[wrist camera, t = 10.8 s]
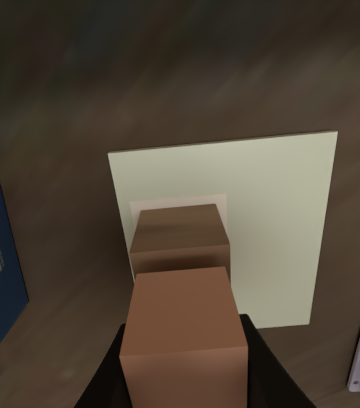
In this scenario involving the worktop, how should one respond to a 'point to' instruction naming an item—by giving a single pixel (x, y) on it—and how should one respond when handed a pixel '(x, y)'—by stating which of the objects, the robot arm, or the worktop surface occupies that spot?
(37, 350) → the worktop surface
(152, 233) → the walnut cube
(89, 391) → the robot arm
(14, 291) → the protein box
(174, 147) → the baseplate
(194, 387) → the terracotta block
